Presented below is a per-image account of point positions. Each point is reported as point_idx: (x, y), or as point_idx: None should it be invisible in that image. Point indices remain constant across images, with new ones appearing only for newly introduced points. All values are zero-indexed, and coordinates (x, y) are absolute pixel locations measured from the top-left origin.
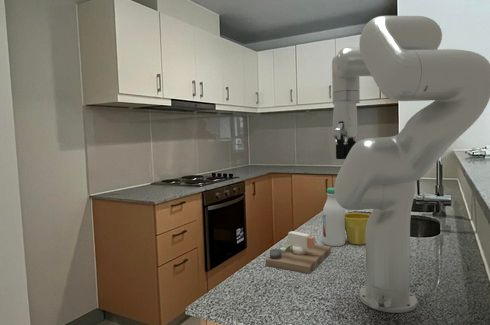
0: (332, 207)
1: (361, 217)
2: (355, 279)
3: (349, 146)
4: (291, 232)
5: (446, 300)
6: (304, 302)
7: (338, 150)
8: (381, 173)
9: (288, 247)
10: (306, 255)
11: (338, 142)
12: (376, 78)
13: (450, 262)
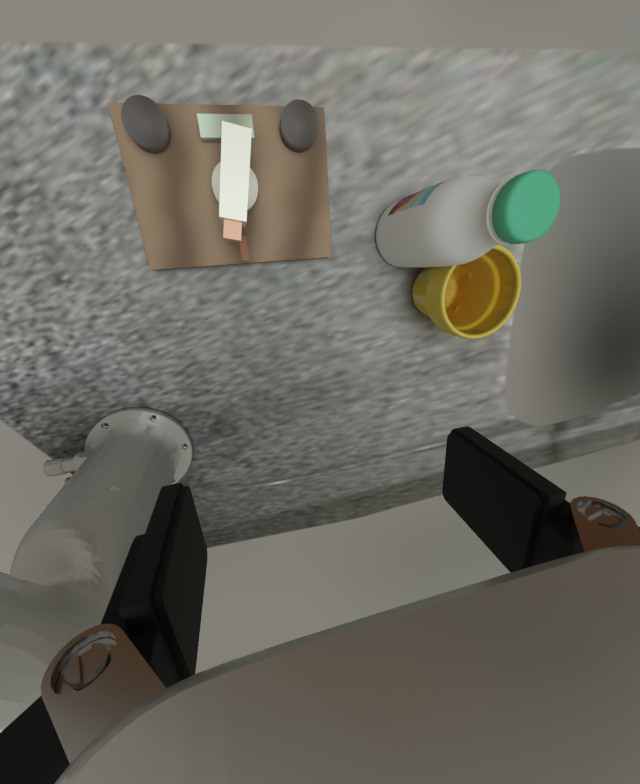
0: (443, 228)
1: (505, 293)
2: (196, 372)
3: (508, 514)
4: (232, 134)
5: (209, 509)
6: (3, 332)
7: (118, 582)
8: None
9: None
10: None
11: (39, 717)
12: None
13: (377, 474)
